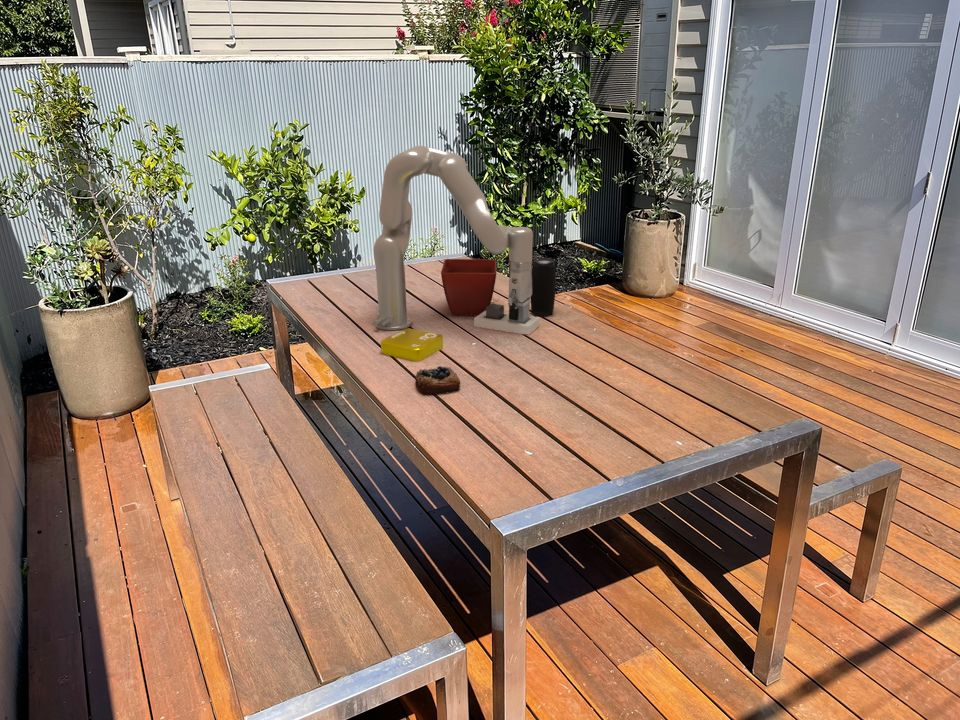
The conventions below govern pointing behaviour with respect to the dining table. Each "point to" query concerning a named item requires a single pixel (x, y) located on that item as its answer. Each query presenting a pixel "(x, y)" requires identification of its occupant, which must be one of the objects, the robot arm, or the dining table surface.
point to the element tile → (412, 344)
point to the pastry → (437, 381)
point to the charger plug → (522, 312)
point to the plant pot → (468, 285)
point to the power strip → (504, 321)
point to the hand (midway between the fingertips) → (519, 315)
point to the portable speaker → (543, 286)
